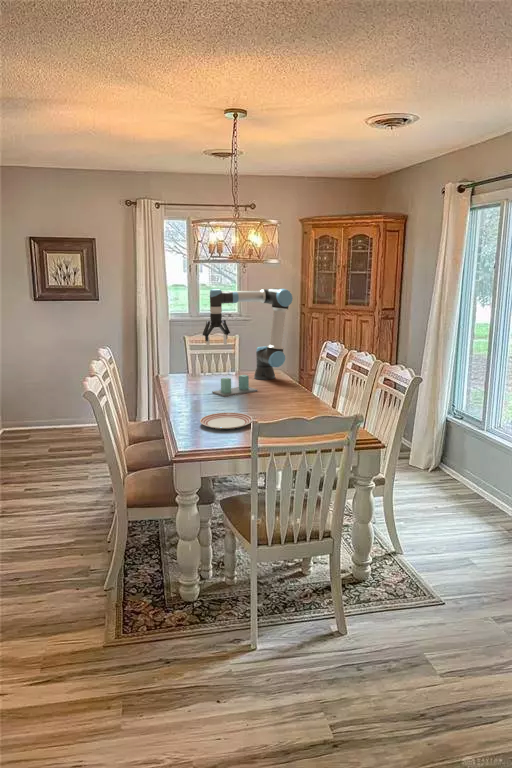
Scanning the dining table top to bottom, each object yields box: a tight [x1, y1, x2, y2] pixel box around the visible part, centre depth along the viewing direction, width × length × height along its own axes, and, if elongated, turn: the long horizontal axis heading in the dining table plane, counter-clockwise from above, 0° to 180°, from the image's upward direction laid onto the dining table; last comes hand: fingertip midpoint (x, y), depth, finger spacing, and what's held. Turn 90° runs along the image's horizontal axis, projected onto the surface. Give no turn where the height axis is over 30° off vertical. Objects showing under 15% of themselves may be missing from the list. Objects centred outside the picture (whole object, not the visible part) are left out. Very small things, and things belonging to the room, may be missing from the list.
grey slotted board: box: [211, 386, 258, 398], centre depth 384 cm, size 26×14×1 cm, turn 127°
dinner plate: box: [199, 412, 254, 430], centre depth 309 cm, size 28×27×3 cm
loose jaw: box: [220, 377, 232, 393], centre depth 379 cm, size 5×5×10 cm
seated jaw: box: [238, 374, 250, 390], centre depth 387 cm, size 5×5×10 cm
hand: (216, 345), depth 393 cm, fingers open, 13 cm apart
